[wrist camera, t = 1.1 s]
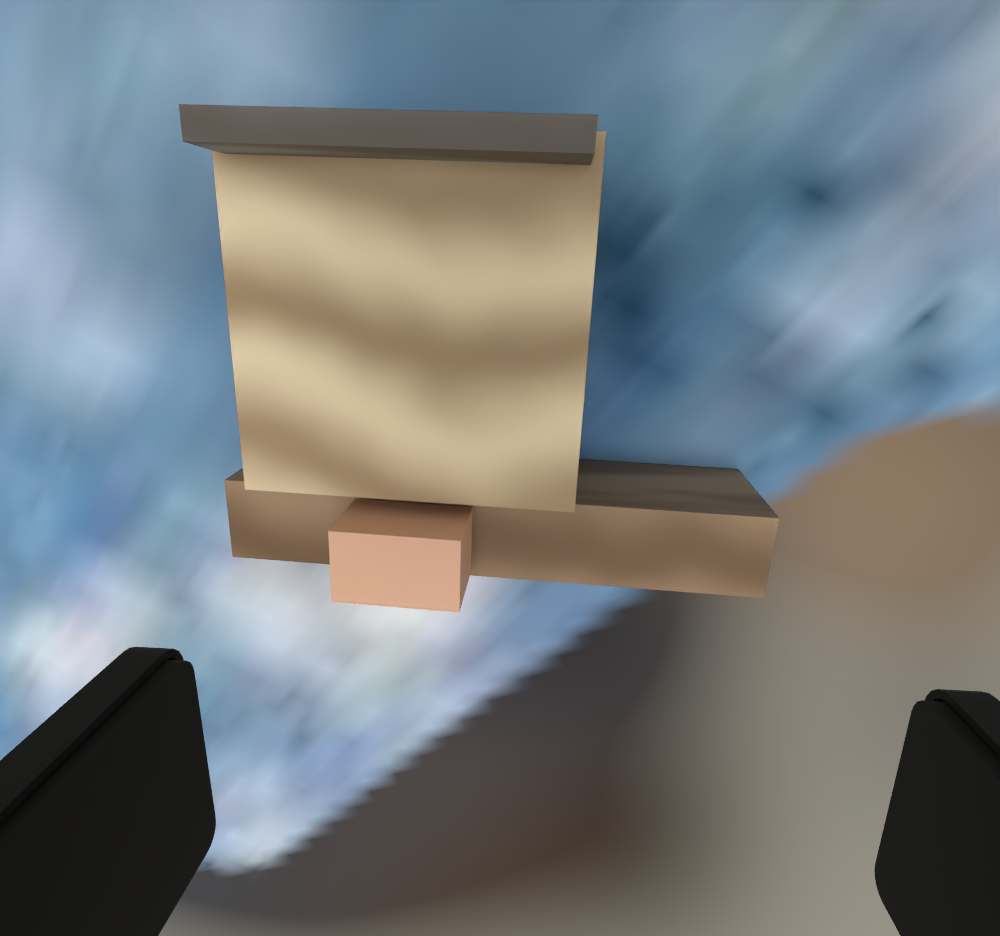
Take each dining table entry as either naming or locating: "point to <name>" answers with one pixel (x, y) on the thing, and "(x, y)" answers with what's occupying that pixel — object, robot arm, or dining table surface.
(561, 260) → the toolbox lid
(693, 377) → the dining table surface
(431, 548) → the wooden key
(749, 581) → the toolbox
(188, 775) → the robot arm
